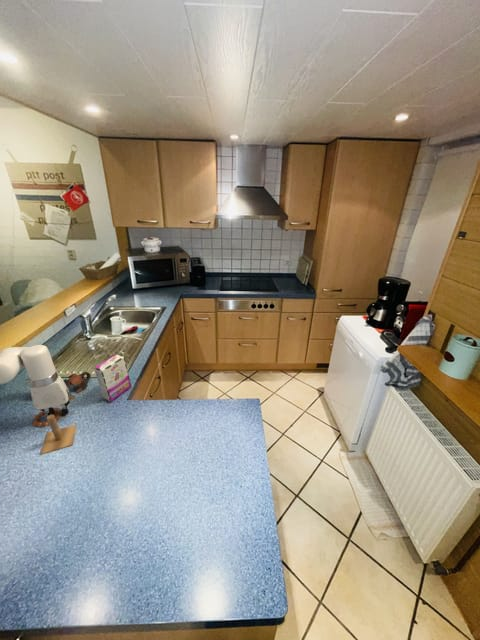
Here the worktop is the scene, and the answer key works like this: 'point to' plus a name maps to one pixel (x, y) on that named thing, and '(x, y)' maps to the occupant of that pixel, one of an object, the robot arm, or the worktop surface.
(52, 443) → the post
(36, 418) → the ring
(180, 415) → the worktop surface
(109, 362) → the candy bar box
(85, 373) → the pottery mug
